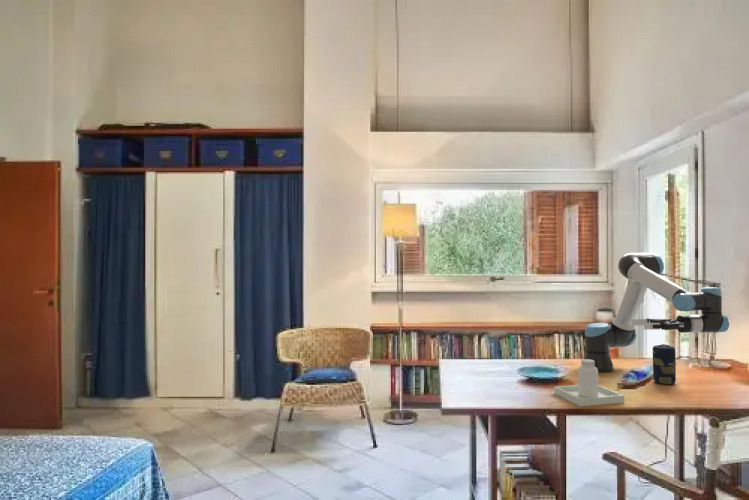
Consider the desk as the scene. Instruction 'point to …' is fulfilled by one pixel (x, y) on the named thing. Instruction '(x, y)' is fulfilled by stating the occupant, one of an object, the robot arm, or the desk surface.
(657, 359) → the canister
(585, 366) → the pill bottle
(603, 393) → the tray
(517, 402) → the desk surface
